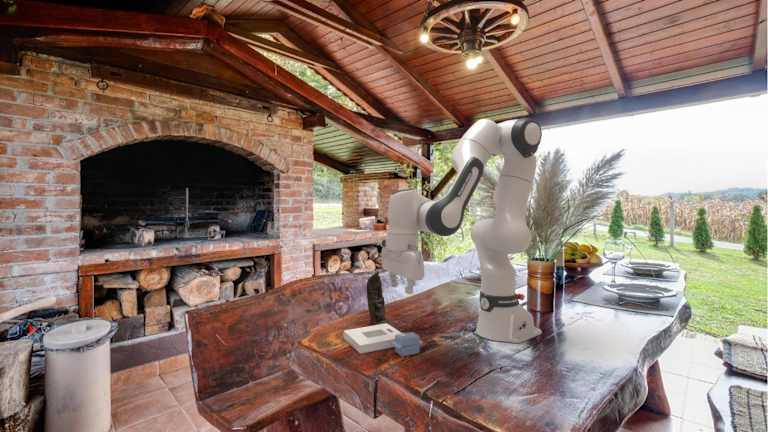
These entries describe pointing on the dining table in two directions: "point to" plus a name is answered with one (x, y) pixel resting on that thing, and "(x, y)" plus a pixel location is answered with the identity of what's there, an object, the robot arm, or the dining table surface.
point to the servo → (407, 343)
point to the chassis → (371, 337)
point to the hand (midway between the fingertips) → (401, 290)
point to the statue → (376, 300)
